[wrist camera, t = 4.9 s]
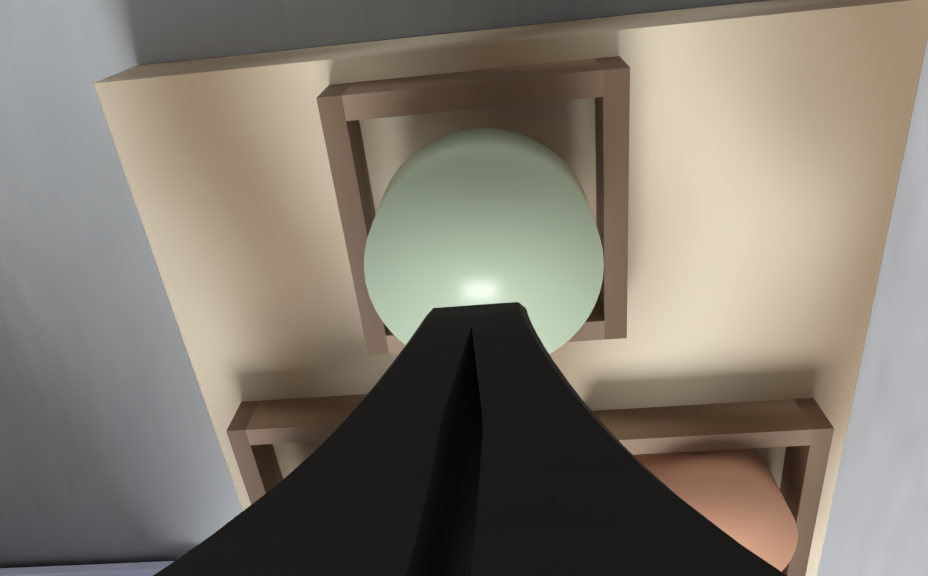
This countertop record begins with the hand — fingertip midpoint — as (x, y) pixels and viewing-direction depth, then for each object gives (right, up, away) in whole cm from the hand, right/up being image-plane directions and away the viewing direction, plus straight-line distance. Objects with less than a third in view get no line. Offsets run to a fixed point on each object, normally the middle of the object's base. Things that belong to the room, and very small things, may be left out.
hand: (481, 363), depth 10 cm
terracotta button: (+6, -5, +9) cm, 12 cm away
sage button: (0, +2, +4) cm, 5 cm away
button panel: (+1, 0, +9) cm, 10 cm away
